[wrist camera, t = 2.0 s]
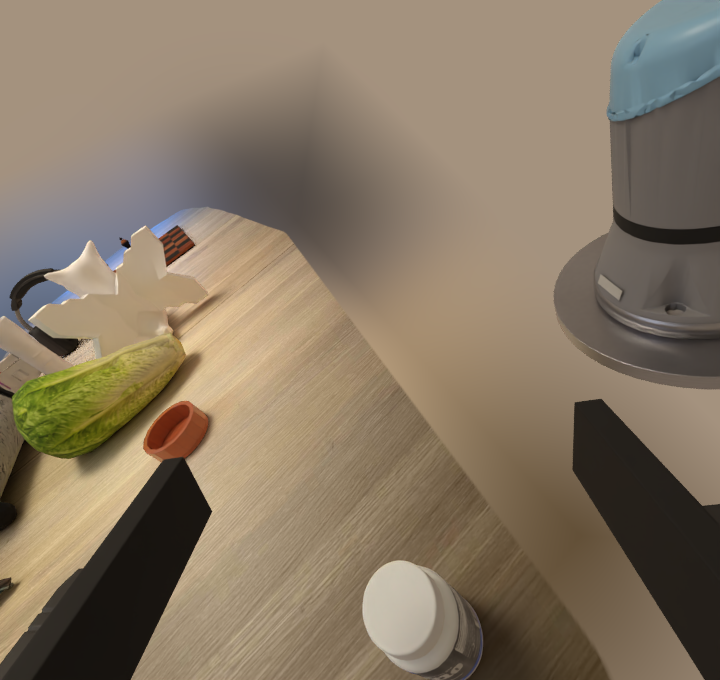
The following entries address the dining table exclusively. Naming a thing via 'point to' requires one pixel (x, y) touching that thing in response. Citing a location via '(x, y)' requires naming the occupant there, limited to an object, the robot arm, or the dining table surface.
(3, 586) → the bird figurine
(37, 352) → the binoculars
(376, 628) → the pill bottle
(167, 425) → the orange cup holder
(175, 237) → the chessboard
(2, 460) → the speaker
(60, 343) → the headphones
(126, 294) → the white abstract sculpture
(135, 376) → the lettuce
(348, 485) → the dining table surface
